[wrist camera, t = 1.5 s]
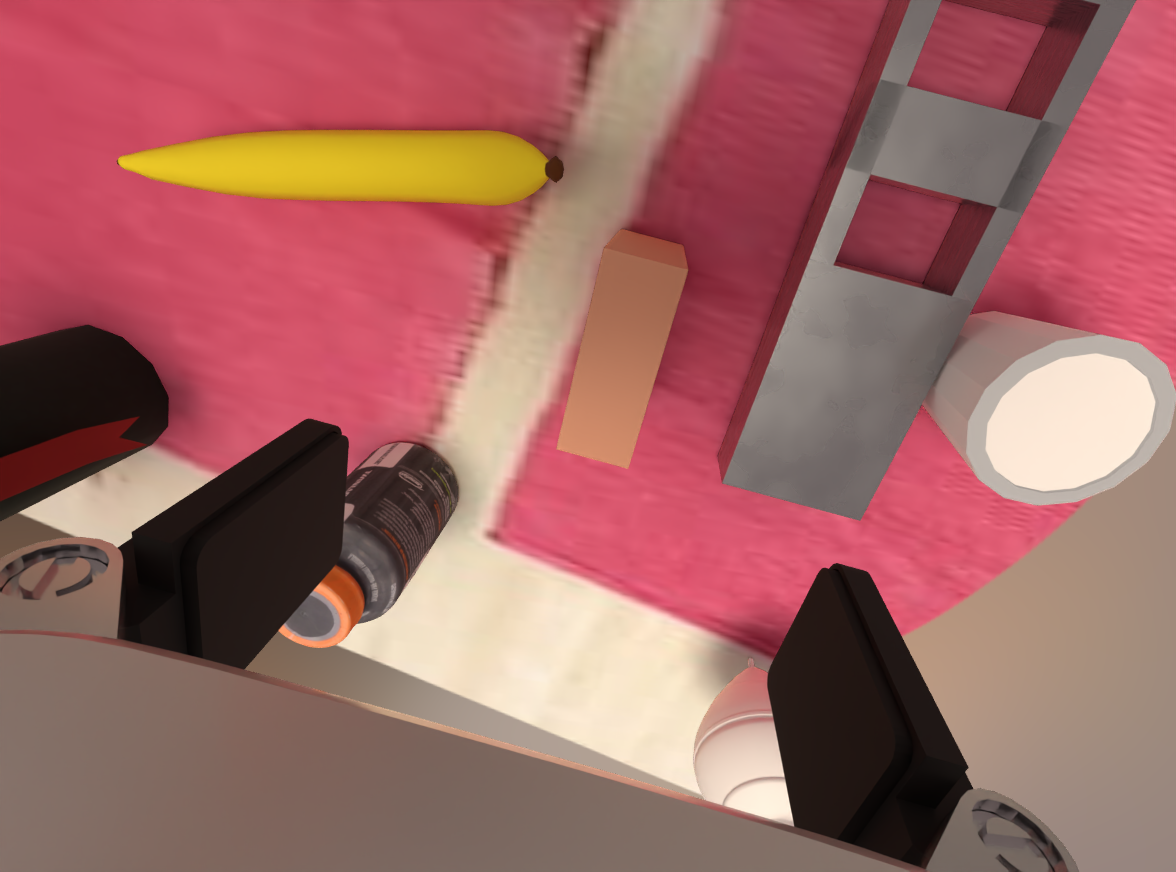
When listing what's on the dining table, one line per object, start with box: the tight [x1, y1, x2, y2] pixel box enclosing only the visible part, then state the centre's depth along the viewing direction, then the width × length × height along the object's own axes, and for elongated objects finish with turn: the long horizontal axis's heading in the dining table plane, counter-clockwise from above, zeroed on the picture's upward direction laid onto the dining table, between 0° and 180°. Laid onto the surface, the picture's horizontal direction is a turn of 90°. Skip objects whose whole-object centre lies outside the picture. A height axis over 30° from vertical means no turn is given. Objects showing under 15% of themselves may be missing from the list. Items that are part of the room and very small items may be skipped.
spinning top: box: [693, 658, 794, 826], centre depth 31 cm, size 8×8×12 cm
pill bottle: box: [278, 442, 458, 648], centre depth 29 cm, size 6×6×11 cm
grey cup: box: [922, 311, 1176, 506], centre depth 24 cm, size 7×7×7 cm
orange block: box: [556, 229, 688, 469], centre depth 25 cm, size 8×3×8 cm, turn 167°
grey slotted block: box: [718, 0, 1136, 520], centre depth 25 cm, size 22×7×3 cm, turn 167°
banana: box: [117, 130, 564, 206], centre depth 24 cm, size 3×19×6 cm, turn 89°
